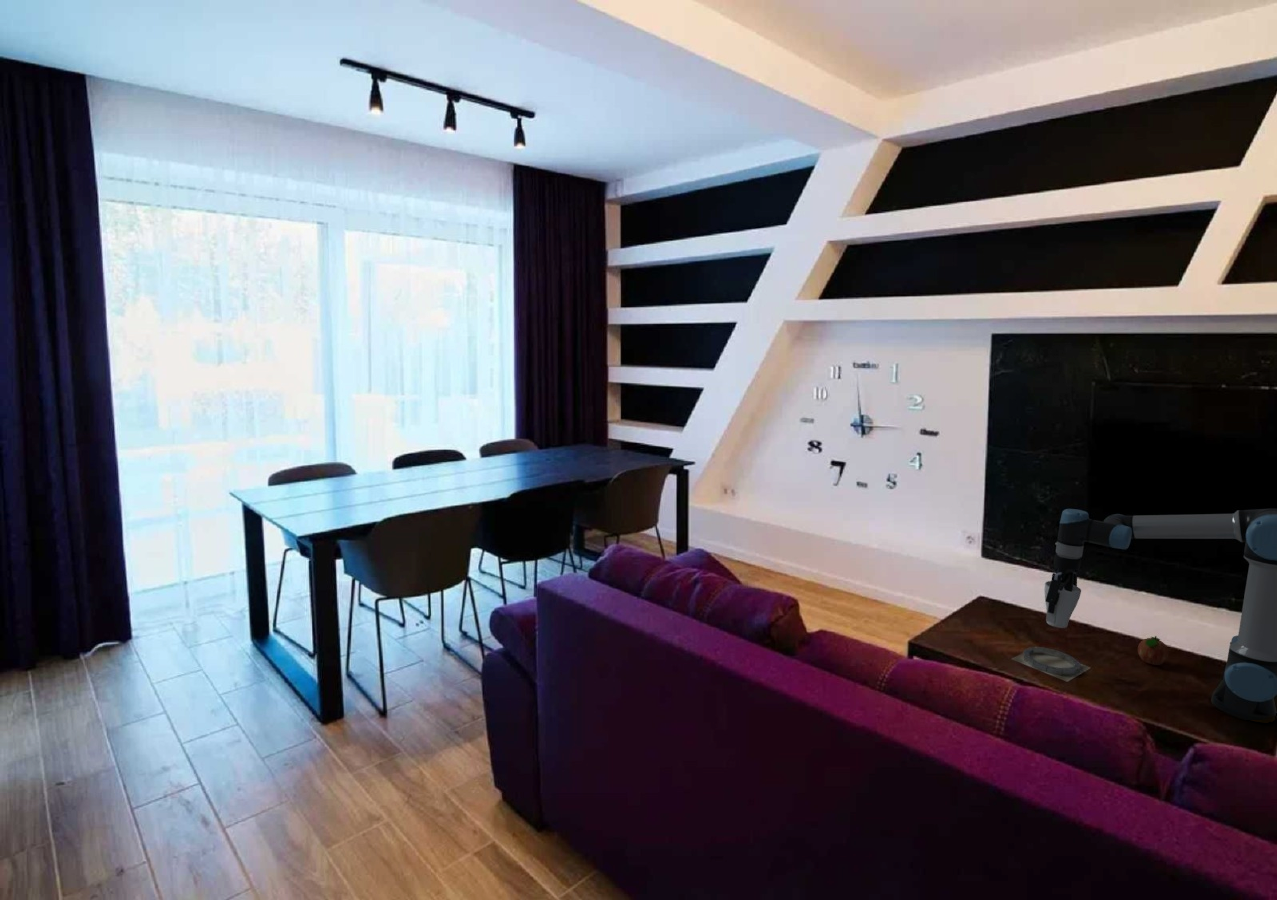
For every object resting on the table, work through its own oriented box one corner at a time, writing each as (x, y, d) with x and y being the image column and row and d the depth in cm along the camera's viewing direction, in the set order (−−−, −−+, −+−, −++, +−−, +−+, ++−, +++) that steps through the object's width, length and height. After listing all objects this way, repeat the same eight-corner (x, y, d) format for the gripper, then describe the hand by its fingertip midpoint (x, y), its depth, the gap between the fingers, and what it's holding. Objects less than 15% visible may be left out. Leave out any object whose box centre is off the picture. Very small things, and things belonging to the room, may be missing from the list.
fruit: (1170, 665, 241) (1176, 638, 239) (1159, 671, 235) (1164, 644, 234) (1142, 654, 248) (1147, 628, 246) (1130, 660, 243) (1135, 634, 241)
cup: (1040, 615, 240) (1046, 578, 238) (1076, 623, 234) (1082, 586, 232) (1037, 624, 232) (1043, 587, 229) (1073, 634, 226) (1080, 595, 223)
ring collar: (1087, 667, 234) (1088, 662, 233) (1065, 680, 224) (1066, 674, 224) (1037, 647, 247) (1037, 643, 246) (1014, 659, 237) (1015, 654, 237)
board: (1090, 670, 234) (1091, 667, 233) (1066, 685, 223) (1067, 681, 223) (1035, 649, 248) (1035, 646, 248) (1010, 662, 237) (1011, 658, 237)
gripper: (1071, 547, 238) (1061, 607, 242) (1040, 557, 225) (1030, 621, 229) (1095, 553, 232) (1084, 615, 236) (1064, 564, 219) (1054, 629, 223)
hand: (1057, 618), depth 232 cm, fingers closed on cup, 10 cm apart
